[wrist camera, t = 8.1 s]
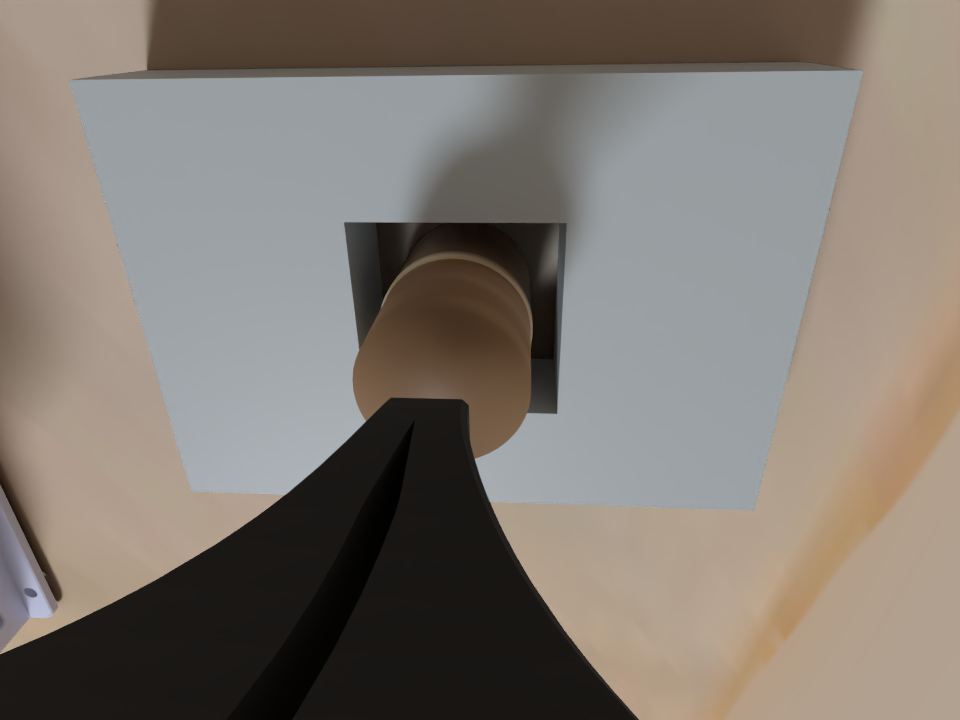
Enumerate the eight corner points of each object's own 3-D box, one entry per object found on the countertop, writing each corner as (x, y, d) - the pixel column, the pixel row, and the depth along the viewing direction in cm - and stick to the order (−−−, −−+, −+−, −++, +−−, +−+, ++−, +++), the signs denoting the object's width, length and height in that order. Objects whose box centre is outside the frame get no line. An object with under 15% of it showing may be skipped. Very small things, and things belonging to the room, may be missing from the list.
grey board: (724, 445, 20) (753, 510, 17) (233, 432, 21) (190, 491, 18) (803, 61, 15) (864, 69, 12) (145, 70, 16) (68, 79, 13)
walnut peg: (539, 225, 17) (544, 315, 12) (523, 347, 19) (522, 473, 13) (404, 212, 17) (348, 294, 12) (400, 334, 19) (351, 454, 14)
